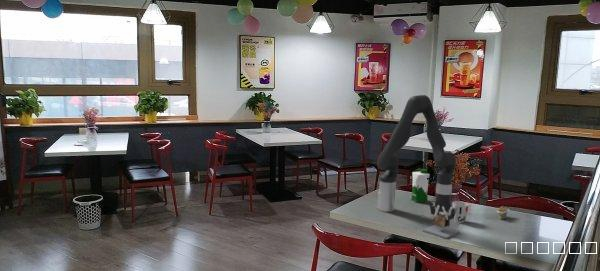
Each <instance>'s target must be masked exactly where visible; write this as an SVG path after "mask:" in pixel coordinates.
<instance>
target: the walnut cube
mask: <svg viewBox="0 0 600 271" xmlns="http://www.w3.org/2000/svg"><path fill="white" fill-rule="evenodd" d="M445 220H446V217H445V215H444V213H443V214H442V213H439V214H438V215H436V216H435V222H434V225H435V226H438V227H442V228H445V227H446V226H445Z"/></svg>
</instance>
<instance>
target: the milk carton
mask: <svg viewBox="0 0 600 271" xmlns="http://www.w3.org/2000/svg"><path fill="white" fill-rule="evenodd" d="M411 175H412V186H411V187H412V191H411V201H413V202H415V203H417V204H420V203H422V204H423V203H428V191H429V190H428V189H429V179H428V180H427V178H428V177H429V178H430V173H428V169H427V168H426V169H425V168H420V171H413V172H412V174H411Z"/></svg>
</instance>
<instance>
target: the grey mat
mask: <svg viewBox="0 0 600 271" xmlns="http://www.w3.org/2000/svg"><path fill="white" fill-rule="evenodd" d="M460 231H461V230H459V229H455V228H452V227H449V226H447V227H445V228H442V227H438V226H435V224H433V225H431V226H429V227H426V228H424V229H422V232H423V233H425V234H428V235H432V236H436V237H439V238H443V239H445V240H448V239H450V238H452V237H454V236H455V235H458V234H460Z"/></svg>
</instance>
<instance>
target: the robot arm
mask: <svg viewBox="0 0 600 271" xmlns="http://www.w3.org/2000/svg"><path fill="white" fill-rule="evenodd" d="M404 107H405V108H404V109H403V112H402V115H401V117H400V118H399V121H398V122H397V125H396V127H395V129H394V130H393V132H392V134H391V136H390V138H389V140H388V141H387V143H386V145H385V147H384V148H383V150H382V151H381V153H380V154H379V155H378V157H377V161H376V164H377V168H378V169H379V170H381V171H385V172H383V173H382V174H380V176H379V189H378V190H379V191H378V192H377V200H376V201H377V203H376V208H377V210H379V211H381V212H385V213H386V212H387V213H391V212H394V211H395V210H396V209H395V208H396V190H397V189H396V185H397V177H398V172H399V158H398V155H397V154H396V153H397V152H398V151H400V150H401V149H402V148H404V146H406V144H407V143H408V142H409V140H410V139H411V137H412V135H413V121H414V120H415V117H417V115H418V114H422V115H423V116H424V118H425V122H426V130H425V131H426V137H427V140H428V142H429V144H430V146H431V149H432V156H433V160H434V163H435V164H436V165H437V166H438V167H440V168H441V169H440V170H439V171H438V172H437V175H436V176H437V177H436V185H435V198H434V199H435V201H432V202H429V209H430V214H431V215H433V216H434V217H433V221H434V223H435V216H436V215H438V214H441V213H443V215H445V217H446V220H445V226H446V227H449V226H450V221H451V220H452V219H453V220H454V216H455V213H456V210H457V208H454V207H453V205H452V192H453V190H452V189H453V186H452V183H453V174H454V172H455V169H456V164H457V158H456V155H455V154H454V153H453V152H451V151H448V152H445V149H444V148H445V147H446V146H447V142H446V140H445V138H444V136H443V133H442V132H441V130H440V127H439V124H438V121H437V118H436V114H435V110H434V106H433V104H432V101H431V99H430V97H429V96H428V95H426V94H421V95H413V96H410V97H409V99H408V100H407V102H406V104H405V106H404Z"/></svg>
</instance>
